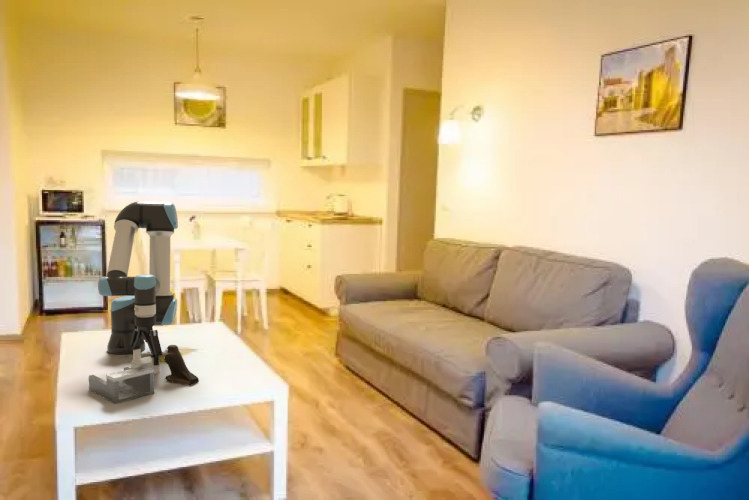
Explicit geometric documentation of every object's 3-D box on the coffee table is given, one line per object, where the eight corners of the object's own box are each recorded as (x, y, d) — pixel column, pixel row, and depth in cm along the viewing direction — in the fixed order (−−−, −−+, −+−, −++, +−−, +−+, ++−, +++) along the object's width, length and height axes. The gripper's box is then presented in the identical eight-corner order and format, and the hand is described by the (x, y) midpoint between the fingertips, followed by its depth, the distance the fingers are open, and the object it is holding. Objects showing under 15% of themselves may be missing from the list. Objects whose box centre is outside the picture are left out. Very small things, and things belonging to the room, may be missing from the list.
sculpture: (171, 376, 219) (170, 342, 218) (199, 381, 215) (199, 346, 213) (161, 381, 214) (160, 346, 213) (189, 386, 209) (189, 350, 208)
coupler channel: (89, 389, 203) (88, 365, 202) (127, 380, 214) (127, 357, 213) (114, 403, 191) (113, 378, 190) (154, 393, 202) (153, 368, 201)
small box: (131, 372, 223) (131, 359, 222) (151, 368, 228) (150, 355, 228) (140, 377, 217) (140, 364, 217) (160, 373, 223) (160, 360, 222)
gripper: (120, 311, 225) (120, 364, 227) (152, 322, 209) (153, 379, 211) (138, 309, 231) (139, 360, 233) (171, 318, 215) (172, 374, 217)
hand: (145, 369), depth 222 cm, fingers open, 13 cm apart
